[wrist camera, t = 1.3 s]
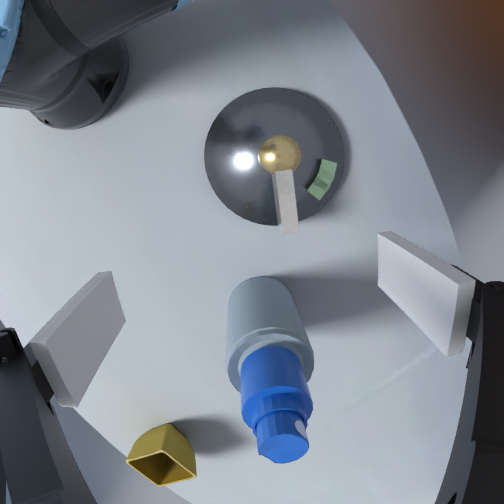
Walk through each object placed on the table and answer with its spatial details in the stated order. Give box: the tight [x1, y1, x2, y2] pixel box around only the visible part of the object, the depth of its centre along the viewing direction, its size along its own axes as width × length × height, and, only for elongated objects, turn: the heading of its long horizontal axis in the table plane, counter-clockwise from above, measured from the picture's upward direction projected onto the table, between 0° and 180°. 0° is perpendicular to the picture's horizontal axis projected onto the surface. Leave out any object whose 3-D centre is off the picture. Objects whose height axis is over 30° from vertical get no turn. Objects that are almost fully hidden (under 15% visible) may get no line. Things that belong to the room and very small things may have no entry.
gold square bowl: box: [126, 423, 197, 487], centre depth 47 cm, size 9×9×9 cm
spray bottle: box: [226, 276, 314, 463], centre depth 32 cm, size 9×9×25 cm
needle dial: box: [258, 135, 301, 234], centre depth 36 cm, size 11×4×5 cm, turn 8°
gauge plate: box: [204, 88, 344, 225], centre depth 38 cm, size 17×17×1 cm
